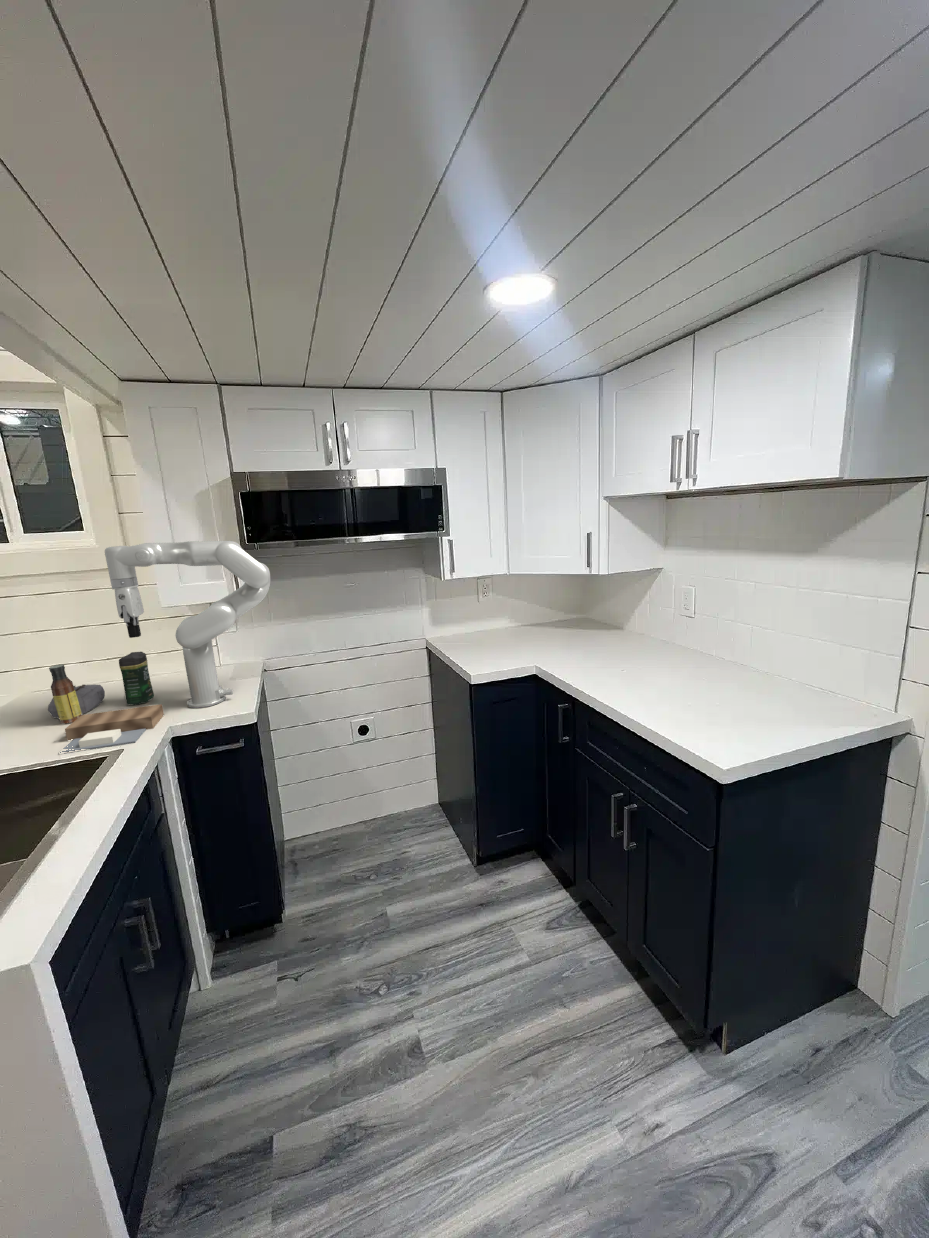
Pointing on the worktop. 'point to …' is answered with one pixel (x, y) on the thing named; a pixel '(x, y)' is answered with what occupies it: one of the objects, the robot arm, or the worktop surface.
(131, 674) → the coffee jar
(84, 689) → the small grey backpack
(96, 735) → the cream tile
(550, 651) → the worktop surface
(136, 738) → the grey mat
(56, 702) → the sauce bottle
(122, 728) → the walnut board
